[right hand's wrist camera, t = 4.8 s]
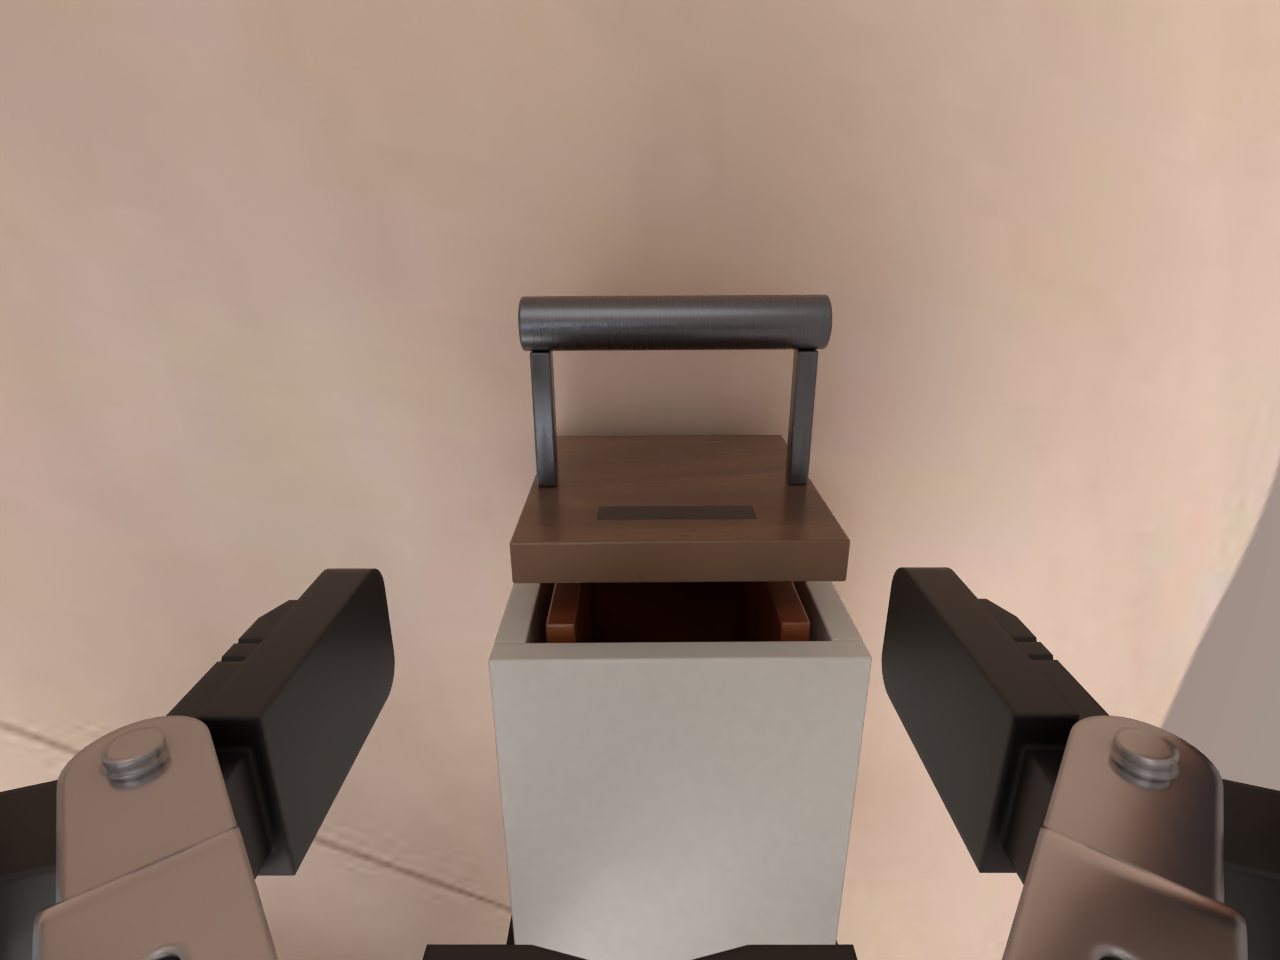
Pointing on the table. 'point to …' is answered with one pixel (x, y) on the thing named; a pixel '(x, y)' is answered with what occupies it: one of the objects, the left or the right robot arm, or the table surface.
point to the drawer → (675, 485)
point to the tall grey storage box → (677, 784)
